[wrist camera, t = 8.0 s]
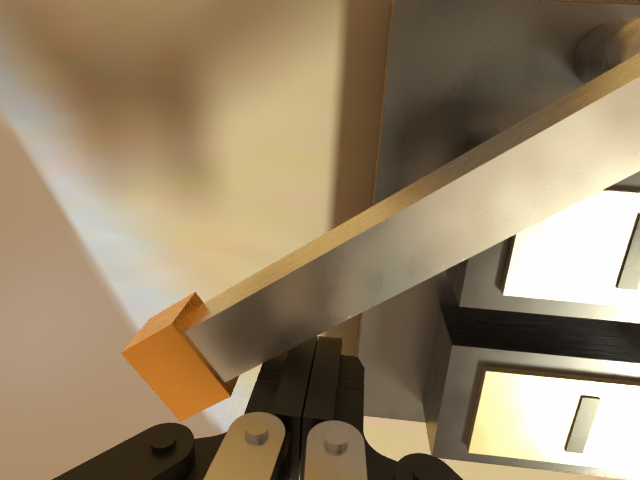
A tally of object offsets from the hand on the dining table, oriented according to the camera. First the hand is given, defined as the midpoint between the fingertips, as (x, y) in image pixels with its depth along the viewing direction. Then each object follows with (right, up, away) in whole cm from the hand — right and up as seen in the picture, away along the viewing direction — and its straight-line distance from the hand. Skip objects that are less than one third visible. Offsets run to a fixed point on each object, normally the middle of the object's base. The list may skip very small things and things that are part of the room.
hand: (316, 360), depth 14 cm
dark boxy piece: (+9, +4, +5) cm, 11 cm away
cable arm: (+3, +4, -2) cm, 6 cm away
